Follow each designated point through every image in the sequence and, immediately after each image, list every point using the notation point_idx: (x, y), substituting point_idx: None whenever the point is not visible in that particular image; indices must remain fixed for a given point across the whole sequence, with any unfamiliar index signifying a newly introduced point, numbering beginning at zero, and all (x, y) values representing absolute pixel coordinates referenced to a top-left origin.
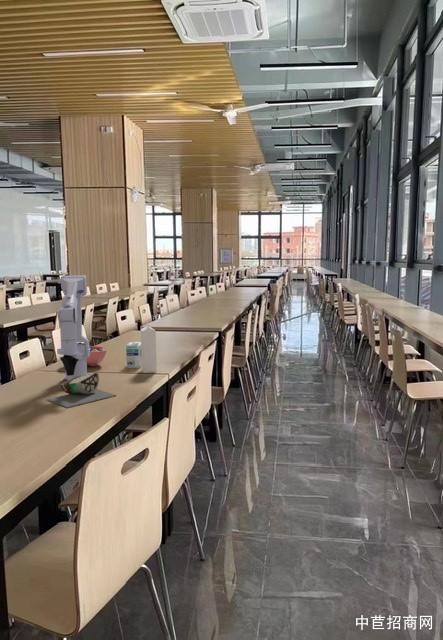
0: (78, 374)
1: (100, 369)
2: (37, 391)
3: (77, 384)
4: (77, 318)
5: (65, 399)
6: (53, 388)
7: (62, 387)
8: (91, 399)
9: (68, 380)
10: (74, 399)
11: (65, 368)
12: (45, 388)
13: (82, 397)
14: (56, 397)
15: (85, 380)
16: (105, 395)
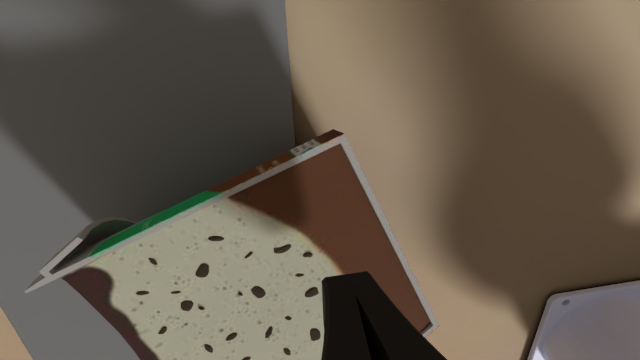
0: (584, 355)
1: None
2: (629, 3)
3: (66, 247)
4: None
5: (141, 62)
6: (574, 144)
7: (319, 136)
8: (3, 230)
9: (399, 246)
10: (88, 126)
11: (400, 338)
12: (633, 98)
13: (117, 200)
14: (277, 27)
15: (139, 348)
16: (74, 332)
